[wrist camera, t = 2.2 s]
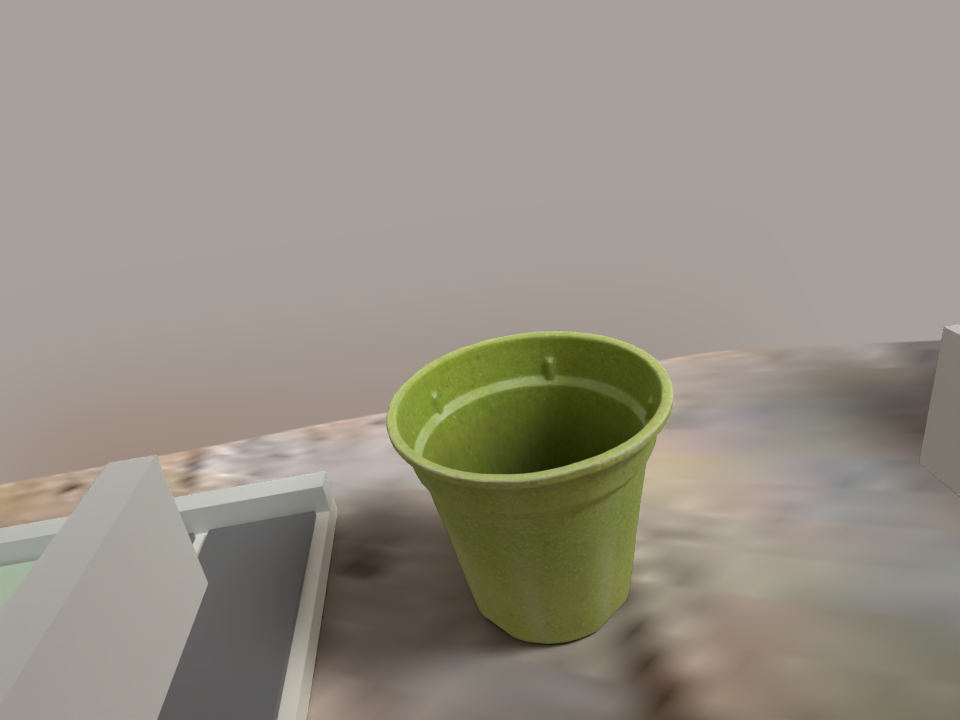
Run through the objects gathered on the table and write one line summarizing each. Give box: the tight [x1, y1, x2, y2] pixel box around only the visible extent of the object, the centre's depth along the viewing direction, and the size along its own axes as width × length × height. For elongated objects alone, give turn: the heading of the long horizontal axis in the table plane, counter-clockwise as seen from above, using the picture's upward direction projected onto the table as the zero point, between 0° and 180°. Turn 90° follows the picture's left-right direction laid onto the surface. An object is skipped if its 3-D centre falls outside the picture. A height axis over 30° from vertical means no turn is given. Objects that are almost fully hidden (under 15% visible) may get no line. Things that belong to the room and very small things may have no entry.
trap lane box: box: [0, 471, 338, 720], centre depth 25 cm, size 23×14×2 cm, turn 95°
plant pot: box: [386, 331, 673, 644], centre depth 24 cm, size 9×9×9 cm
